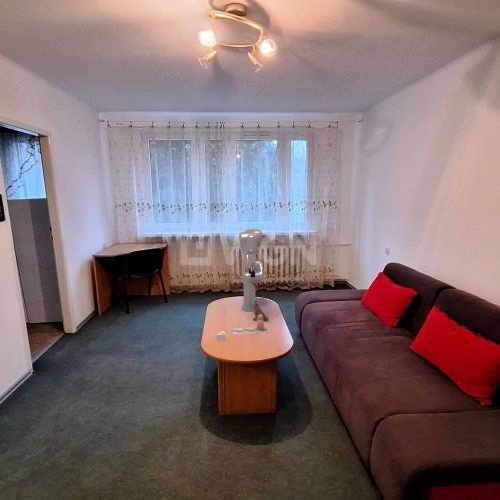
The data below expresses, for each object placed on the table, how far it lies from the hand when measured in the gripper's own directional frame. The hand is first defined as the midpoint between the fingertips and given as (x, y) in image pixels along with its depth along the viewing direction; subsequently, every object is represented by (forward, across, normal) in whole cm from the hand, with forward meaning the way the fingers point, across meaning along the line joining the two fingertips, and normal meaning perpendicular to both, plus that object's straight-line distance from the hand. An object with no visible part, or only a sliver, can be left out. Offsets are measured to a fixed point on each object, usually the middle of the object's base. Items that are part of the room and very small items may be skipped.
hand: (251, 275), depth 231 cm
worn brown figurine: (+37, -3, +7) cm, 37 cm away
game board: (+36, +14, -4) cm, 39 cm away
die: (+36, +24, -24) cm, 50 cm away
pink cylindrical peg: (+35, +14, +4) cm, 38 cm away
